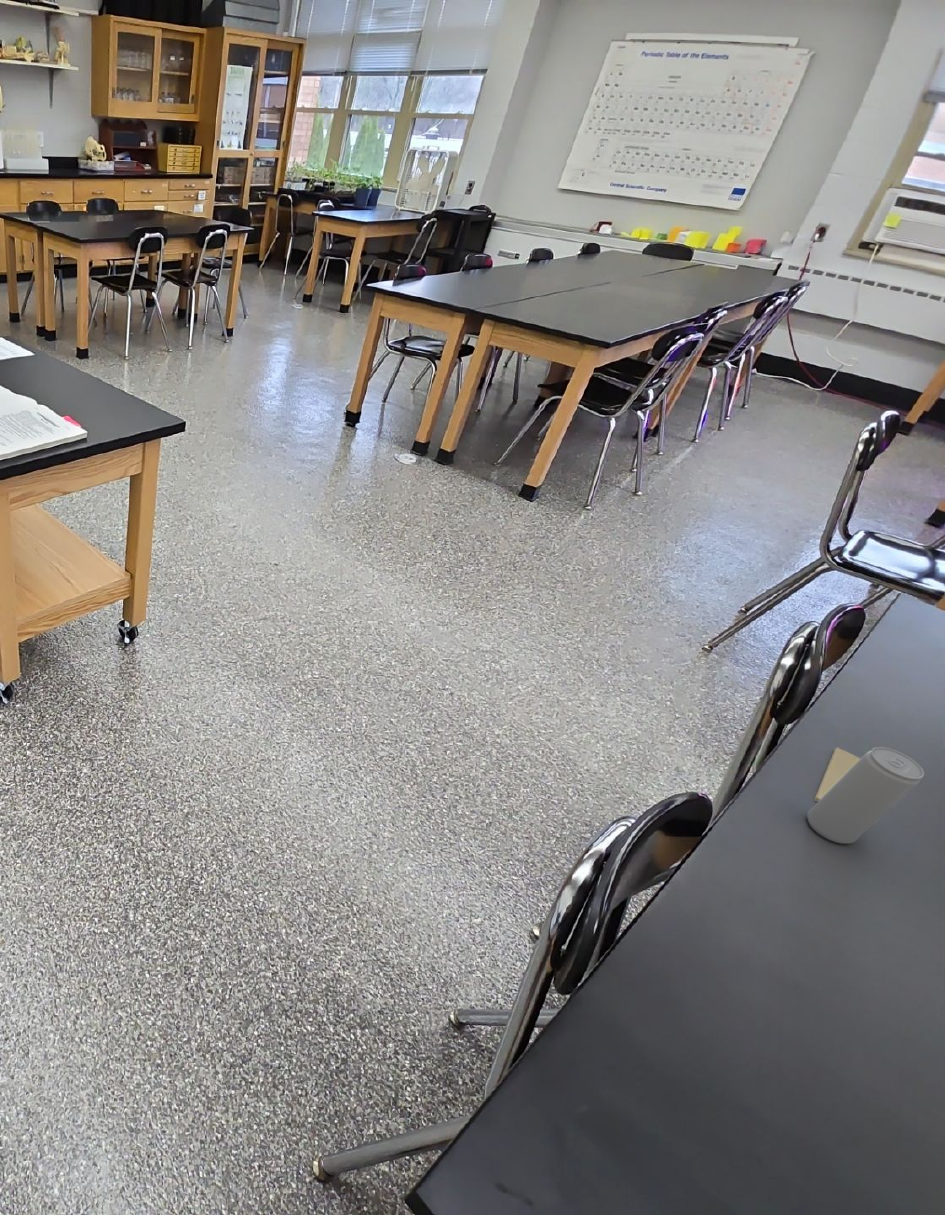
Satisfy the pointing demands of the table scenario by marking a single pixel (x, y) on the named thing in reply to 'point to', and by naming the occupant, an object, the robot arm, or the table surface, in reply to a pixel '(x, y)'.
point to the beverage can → (864, 795)
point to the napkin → (835, 771)
